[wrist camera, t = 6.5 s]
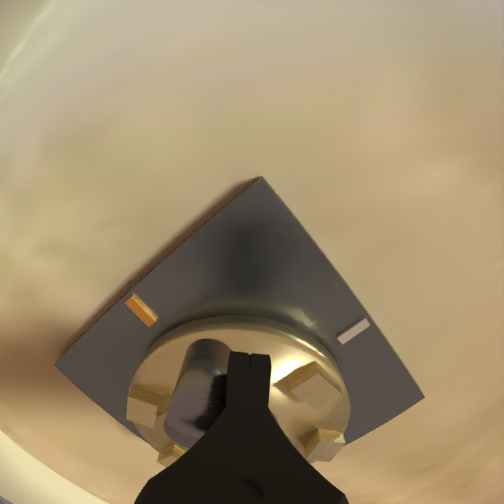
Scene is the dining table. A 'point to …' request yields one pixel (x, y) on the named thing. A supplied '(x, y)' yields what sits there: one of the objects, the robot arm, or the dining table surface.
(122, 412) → the base plate
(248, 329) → the rotary dial knob
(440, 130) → the dining table surface
